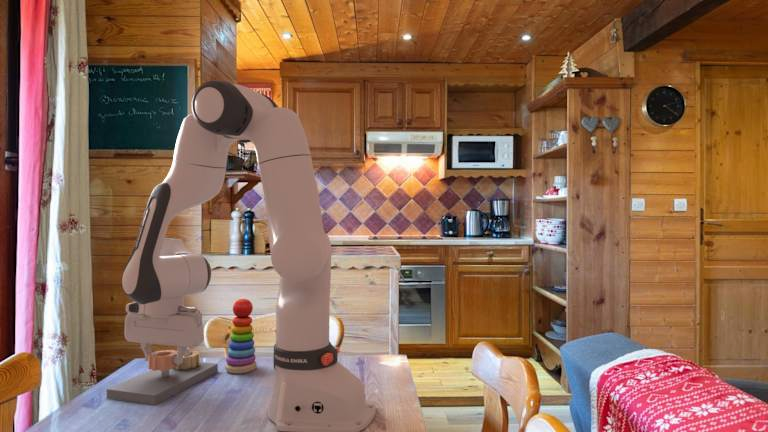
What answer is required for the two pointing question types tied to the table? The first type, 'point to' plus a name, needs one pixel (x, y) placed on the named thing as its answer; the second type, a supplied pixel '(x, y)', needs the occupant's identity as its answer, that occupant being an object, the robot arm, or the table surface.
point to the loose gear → (162, 360)
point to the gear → (190, 361)
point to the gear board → (160, 383)
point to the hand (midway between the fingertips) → (163, 362)
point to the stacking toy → (241, 340)
